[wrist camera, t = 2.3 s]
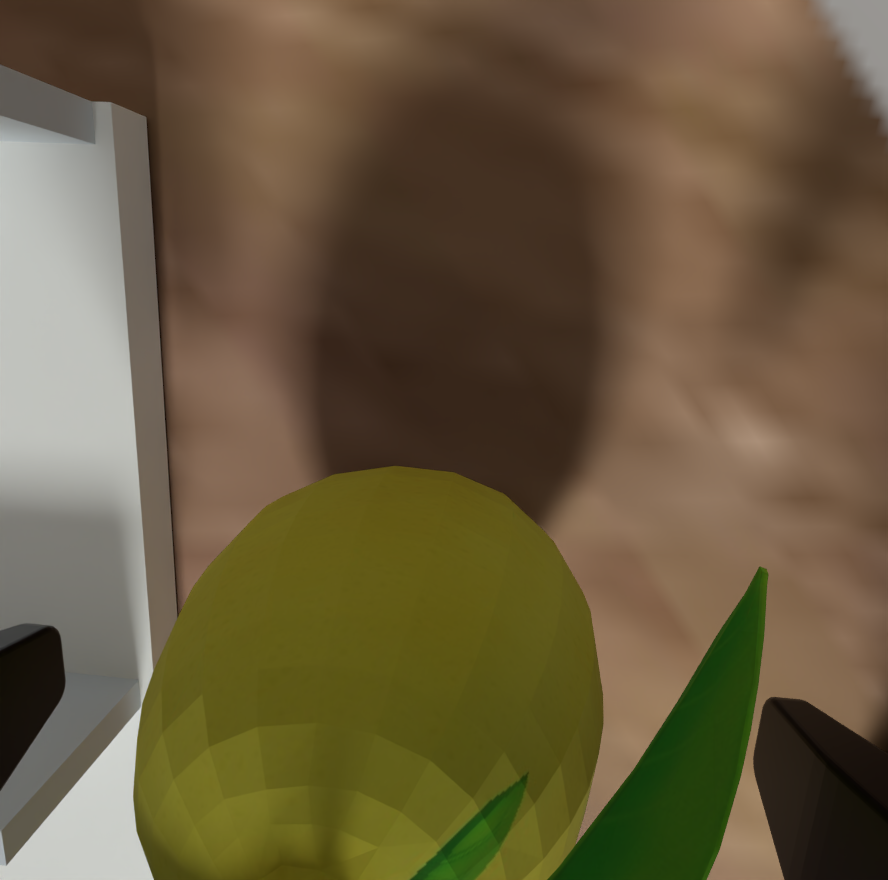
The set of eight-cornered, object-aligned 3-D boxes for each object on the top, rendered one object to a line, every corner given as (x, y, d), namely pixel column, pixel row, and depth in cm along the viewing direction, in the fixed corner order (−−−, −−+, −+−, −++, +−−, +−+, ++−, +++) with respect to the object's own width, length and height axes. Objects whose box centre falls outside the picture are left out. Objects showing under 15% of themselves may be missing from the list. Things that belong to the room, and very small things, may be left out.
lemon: (618, 395, 11) (1249, 1126, 2) (602, 694, 13) (890, 2007, 3) (241, 394, 12) (-879, 910, 2) (267, 678, 13) (-353, 1722, 4)
